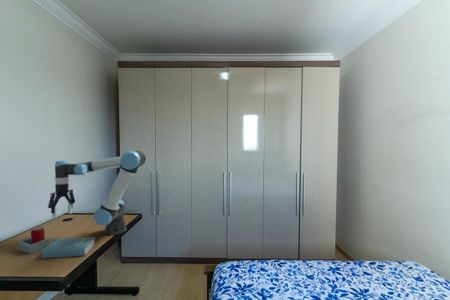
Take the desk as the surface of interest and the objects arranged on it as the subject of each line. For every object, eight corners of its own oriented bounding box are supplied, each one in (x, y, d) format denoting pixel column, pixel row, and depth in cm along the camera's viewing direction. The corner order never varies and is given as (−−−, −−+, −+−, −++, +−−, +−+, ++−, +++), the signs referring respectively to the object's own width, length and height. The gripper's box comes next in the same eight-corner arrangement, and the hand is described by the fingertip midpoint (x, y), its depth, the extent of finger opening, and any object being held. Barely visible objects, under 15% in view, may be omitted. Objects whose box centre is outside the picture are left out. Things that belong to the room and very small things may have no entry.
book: (94, 244, 155) (94, 237, 155) (84, 256, 139) (84, 248, 139) (56, 246, 151) (56, 239, 151) (41, 259, 135) (41, 250, 135)
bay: (58, 244, 153) (58, 236, 153) (31, 254, 139) (31, 246, 139) (44, 240, 159) (44, 233, 158) (17, 250, 145) (17, 242, 144)
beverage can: (37, 244, 153) (36, 225, 152) (47, 244, 153) (47, 226, 152) (28, 248, 146) (27, 229, 146) (38, 249, 146) (38, 230, 146)
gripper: (74, 180, 174) (74, 210, 175) (40, 185, 153) (41, 219, 154) (81, 181, 171) (81, 211, 172) (48, 186, 150) (48, 221, 151)
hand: (62, 215), depth 163 cm, fingers open, 10 cm apart
